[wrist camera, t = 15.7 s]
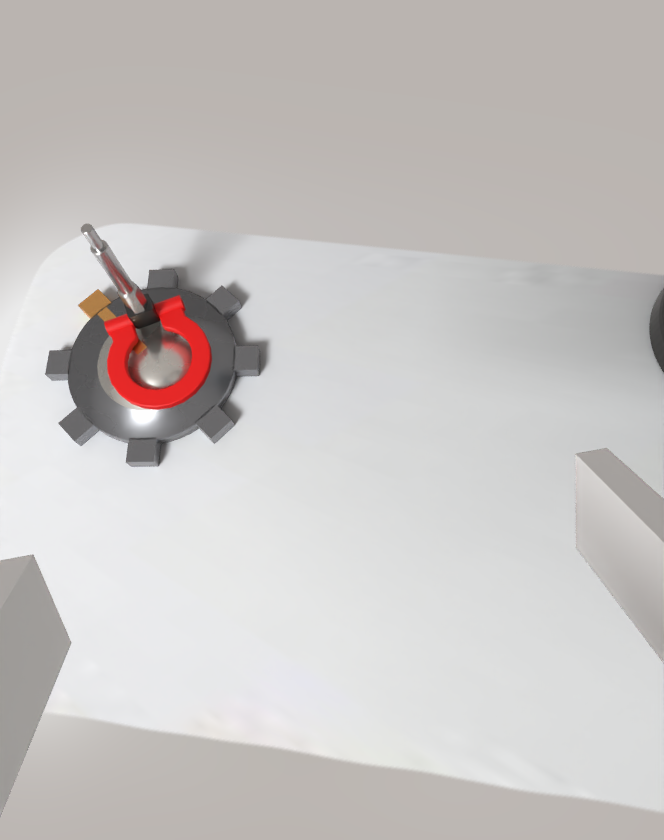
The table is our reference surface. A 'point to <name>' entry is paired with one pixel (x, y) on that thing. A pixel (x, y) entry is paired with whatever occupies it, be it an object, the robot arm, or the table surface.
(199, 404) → the sprocket plate
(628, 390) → the table surface
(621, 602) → the robot arm
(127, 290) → the tow hook
